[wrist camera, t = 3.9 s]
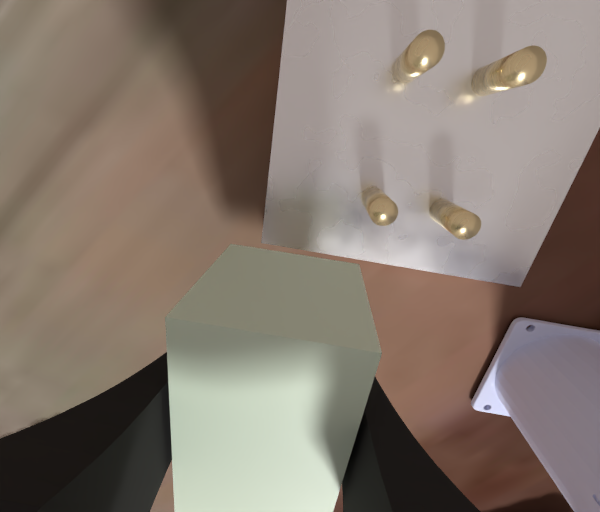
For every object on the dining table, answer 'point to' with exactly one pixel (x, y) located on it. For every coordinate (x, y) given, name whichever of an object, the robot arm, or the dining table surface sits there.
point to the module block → (268, 381)
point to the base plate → (431, 129)
